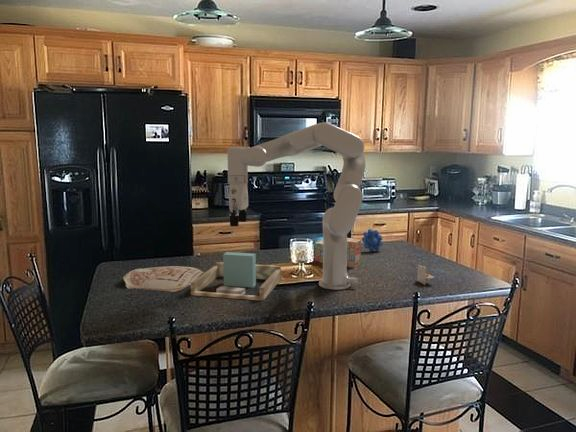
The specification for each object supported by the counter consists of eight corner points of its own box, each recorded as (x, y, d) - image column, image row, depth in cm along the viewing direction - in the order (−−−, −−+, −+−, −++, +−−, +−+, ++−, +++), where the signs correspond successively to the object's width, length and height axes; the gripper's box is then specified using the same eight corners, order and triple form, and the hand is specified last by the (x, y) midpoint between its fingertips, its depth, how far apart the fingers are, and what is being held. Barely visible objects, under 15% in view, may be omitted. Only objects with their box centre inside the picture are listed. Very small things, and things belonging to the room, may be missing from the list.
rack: (281, 282, 200) (281, 265, 199) (263, 304, 175) (263, 285, 174) (216, 277, 207) (216, 261, 205) (190, 298, 181) (190, 280, 180)
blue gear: (364, 254, 247) (365, 230, 245) (359, 251, 253) (360, 228, 251) (385, 252, 250) (386, 229, 248) (380, 249, 256) (381, 227, 254)
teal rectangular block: (255, 287, 193) (255, 253, 191) (253, 291, 190) (252, 256, 187) (227, 285, 196) (226, 252, 194) (223, 288, 192) (223, 254, 190)
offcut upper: (245, 293, 183) (245, 288, 182) (241, 296, 179) (240, 291, 179) (221, 291, 186) (221, 285, 185) (216, 294, 182) (216, 289, 182)
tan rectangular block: (314, 261, 233) (314, 236, 231) (320, 259, 238) (320, 234, 236) (355, 268, 222) (355, 241, 220) (360, 265, 227) (361, 239, 225)
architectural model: (424, 280, 204) (424, 263, 203) (433, 285, 197) (434, 268, 196) (416, 281, 203) (417, 264, 202) (426, 286, 196) (427, 268, 195)
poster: (116, 296, 194) (186, 298, 188) (113, 281, 193) (184, 283, 187) (148, 271, 221) (211, 273, 215) (147, 258, 219) (210, 259, 213)
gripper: (240, 182, 176) (240, 228, 179) (253, 177, 193) (254, 220, 196) (220, 181, 178) (221, 227, 181) (235, 177, 195) (236, 219, 198)
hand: (238, 223), depth 188 cm, fingers open, 9 cm apart
